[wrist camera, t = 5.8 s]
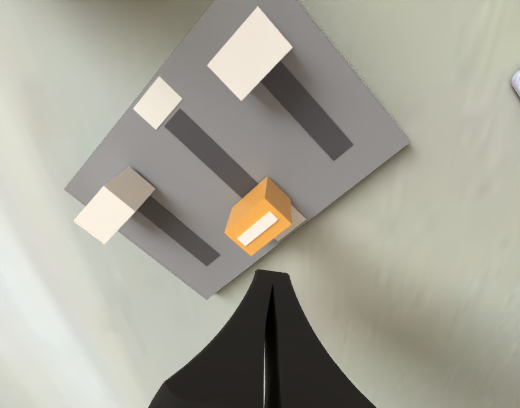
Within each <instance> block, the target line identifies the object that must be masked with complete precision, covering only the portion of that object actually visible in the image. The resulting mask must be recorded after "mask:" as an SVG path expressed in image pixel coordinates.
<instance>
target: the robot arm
mask: <svg viewBox="0 0 520 408" xmlns="http://www.w3.org/2000/svg"><path fill="white" fill-rule="evenodd" d="M512 86H513V88H514V89H515V91H516V92H517V94H518V95H519V97H520V70H519V71H518V72H517V73H516V74H515V75H514V76H513V78H512ZM264 344H265V404H264ZM148 408H376V407H375V406H374V405H373V404H372V403H371V402H370V401H369V400H368V399H367V398H366V397H365V396H364V395H363V394H362V393H361V392H360V391H359V390H358V389H357V388H356V387H355V386H354V385H353V384H352V383H351V381H350V380H349V379H348V378H347V377H346V376H345V374H344V373H343V372H342V371H341V369H340V368H339V367H338V366H337V364H336V363H335V362H334V361H333V359H332V358H331V357H330V355H329V354H328V353H327V351H326V350H325V348H324V347H323V345H322V344H321V342H320V341H319V339H318V338H317V336H316V334H315V333H314V331H313V329H312V327H311V326H310V324H309V322H308V320H307V318H306V316H305V314H304V312H303V310H302V308H301V306H300V304H299V302H298V299H297V297H296V294H295V292H294V289H293V286H292V284H291V280H290V276H289V275H288V274H287V273H282V272H274V271H267V270H260V269H258V270H256V271H255V275H254V278H253V281H252V283H251V285H250V287H249V289H248V291H247V293H246V295H245V297H244V298H243V300H242V302H241V303H240V305H239V306H238V308H237V309H236V311H235V312H234V314H233V315H232V317H231V318H230V319H229V321H228V322H227V323H226V325H225V326H224V327H223V328H222V329H221V331H220V332H219V333H218V334H217V335H216V336H215V337H214V339H213V340H212V341H211V342H210V343H209V344H208V345H207V346H206V347H205V348H204V349H203V350H202V351H201V352H200V353H199V354H198V355H196V356H195V357H194V358H193V359H192V360H191V361H190V362H189V363H188V364H186V365H185V366H184V367H183V368H182V369H180V370H179V371H178V372H176V373H175V374H174V375H173V376H171V377H170V378H169V379H167V380H166V381H165V382H164V383H163V384H162V386H161V387H160V389H159V390H158V392H157V393H156V395H155V397H154V398H153V400H152V402H151V403H150V405H149V407H148Z"/></svg>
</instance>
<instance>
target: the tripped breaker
mask: <svg viewBox="0 0 520 408" xmlns="http://www.w3.org/2000/svg"><path fill="white" fill-rule="evenodd" d="M291 224H292V216H291V199H290V198H289V197H288V196H287V195H286V194H285V193H284V192H283V191H282V190H281V189H280V188H279V187H278V186H277V185H276V184H275V183H274V182H273V181H272V180H271V179H270V178H269V177H268V176H267V177H266V178H265V179H264V180H263V181H261V182H260V183H259V184H258V185H257V186H256V187H255V188H254V189H252V190H251V191H250V192H249V193H248V194H247V195H246V196H245V197H243V198H242V199H241V200H240V201H239V202H238V203H237V204H236V205H234V206H233V207H232V210H231V213H230V216H229V219H228V222H227V226H226V229H225V232H224V233H225V234H226V235H227V236H228V237H229V238H230V239H232V240H233V241H234V242H235V243H236V244H237V245H238V246H240V247H241V248H242V249H243V250H244V251H245V252H247V253H248V254H249V255H250V256H252V255H253V254H255V253H256V252H257V251H258V250H260V249H261V248H262V247H263V246H265V245H266V244H267V243H268V242H270V241H271V240H272V239H274V238H275V237H276V236H277V235H279V234H280V233H281V232H282V231H284V230H285V229H286V228H288V227H289V226H290V225H291Z"/></svg>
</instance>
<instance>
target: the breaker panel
mask: <svg viewBox="0 0 520 408" xmlns="http://www.w3.org/2000/svg"><path fill="white" fill-rule="evenodd" d="M409 143H410V140H409V139H408V138H407V137H406V135H405V134H404V133H403V132H402V130H401V129H400V128H399V127H398V125H397V124H396V123H395V122H394V121H393V119H392V118H391V117H390V116H389V114H388V113H387V112H386V111H385V109H384V108H383V107H382V106H381V104H380V103H379V102H378V101H377V99H376V98H375V97H374V96H373V94H372V93H371V92H370V91H369V89H368V88H367V87H366V86H365V84H364V83H363V82H362V81H361V80H360V78H359V77H358V76H357V75H356V73H355V72H354V71H353V70H352V68H351V67H350V66H349V65H348V63H347V62H346V61H345V60H344V58H343V57H342V56H341V55H340V53H339V52H338V51H337V50H336V48H335V47H334V46H333V45H332V43H331V42H330V41H329V40H328V38H327V37H326V36H325V35H324V34H323V32H322V31H321V30H320V29H319V27H318V26H317V25H316V24H315V22H314V21H313V20H312V19H311V17H310V16H309V15H308V14H307V12H306V11H305V10H304V9H303V7H302V6H301V5H300V4H299V2H298V1H297V0H214V1H213V2H212V4H211V5H210V6H209V7H208V9H207V10H206V11H205V12H204V14H203V15H202V16H201V17H200V19H199V20H198V21H197V23H196V24H195V25H194V26H193V28H192V29H191V30H190V31H189V33H188V34H187V35H186V36H185V38H184V39H183V40H182V41H181V43H180V44H179V45H178V46H177V48H176V49H175V50H174V51H173V53H172V54H171V55H170V56H169V58H168V59H167V60H166V62H165V63H164V64H163V65H162V67H161V68H160V69H159V70H158V72H157V73H156V74H155V75H154V77H153V78H152V79H151V80H150V82H149V83H148V84H147V85H146V87H145V88H144V89H143V90H142V92H141V93H140V94H139V95H138V97H137V98H136V99H135V100H134V102H133V103H132V104H131V106H130V107H129V108H128V109H127V111H126V112H125V113H124V114H123V116H122V117H121V118H120V119H119V121H118V122H117V123H116V124H115V126H114V127H113V128H112V129H111V131H110V132H109V133H108V134H107V136H106V137H105V138H104V139H103V141H102V142H101V143H100V145H99V146H98V147H97V148H96V150H95V151H94V152H93V153H92V155H91V156H90V157H89V158H88V160H87V161H86V162H85V163H84V165H83V166H82V167H81V168H80V170H79V171H78V172H77V173H76V175H75V176H74V177H73V178H72V180H71V181H70V182H69V184H68V185H67V186H66V187H65V189H64V190H65V191H67V192H68V193H69V194H71V195H72V196H73V197H75V198H76V199H77V200H78V201H80V202H81V203H82V204H84V205H85V206H86V207H85V208H84V209H83V210H82V211H81V213H80V214H79V215H78V216H77V217H76V218H75V220H74V222H75V223H77V224H78V225H79V226H81V227H82V228H83V229H85V230H86V231H87V232H89V233H90V234H91V235H93V236H94V237H95V238H97V239H98V240H99V241H101V242H102V243H103V244H105V243H106V242H107V241H108V240H109V239H110V238H111V237H112V236H113V235H114V234H115V233H116V231H118V232H120V233H121V234H122V235H124V236H125V237H126V238H127V239H129V240H130V241H131V242H133V243H134V244H135V245H137V246H138V247H139V248H140V249H142V250H143V251H144V252H146V253H147V254H148V255H149V256H151V257H152V258H153V259H155V260H156V261H157V262H158V263H160V264H161V265H162V266H164V267H165V268H166V269H168V270H169V271H170V272H171V273H173V274H174V275H175V276H177V277H178V278H179V279H180V280H182V281H183V282H184V283H186V284H187V285H188V286H189V287H191V288H192V289H193V290H195V291H196V292H197V293H199V294H200V295H201V296H202V297H204V298H205V299H206V300H207V299H208V298H210V297H211V296H212V295H214V294H215V293H216V292H217V291H219V290H220V289H221V288H223V287H224V286H225V285H226V284H228V283H229V282H230V281H232V280H233V279H234V278H235V277H237V276H238V275H239V274H241V273H242V272H243V271H245V270H246V269H247V268H248V267H250V266H251V265H252V264H254V263H255V262H256V261H257V260H259V259H260V258H261V257H263V256H264V255H265V254H266V253H268V252H269V251H270V250H272V249H273V248H274V247H276V246H277V245H278V244H279V243H281V242H282V241H283V240H285V239H286V238H287V237H288V236H290V235H291V234H292V233H294V232H295V231H296V230H297V229H299V228H300V227H301V226H303V225H304V224H305V223H307V222H308V221H309V220H310V219H312V218H313V217H314V216H316V215H317V214H318V213H319V212H321V211H322V210H323V209H325V208H326V207H327V206H329V205H330V204H331V203H332V202H334V201H335V200H336V199H338V198H339V197H340V196H341V195H343V194H344V193H345V192H347V191H348V190H349V189H350V188H352V187H353V186H354V185H356V184H357V183H358V182H360V181H361V180H362V179H363V178H365V177H366V176H367V175H369V174H370V173H371V172H372V171H374V170H375V169H376V168H378V167H379V166H380V165H381V164H383V163H384V162H385V161H387V160H388V159H389V158H391V157H392V156H393V155H394V154H396V153H397V152H398V151H400V150H401V149H402V148H403V147H405V146H406V145H407V144H409ZM267 176H268V177H269V178H270V179H271V180H272V181H273V182H274V183H275V184H276V185H277V186H278V187H279V188H280V189H281V190H282V191H283V192H284V193H285V194H286V195H287V196H288V197H289V198H290V199H291V216H292V224H291V225H290V226H289V227H288V228H286V229H285V230H284V231H282V232H281V233H280V234H279V235H277V236H276V237H275V238H274V239H272V240H271V241H270V242H268V243H267V244H266V245H265V246H263V247H262V248H261V249H260V250H258V251H257V252H256V253H255V254H253V255H252V256H250V255H249V254H248V253H247V252H245V251H244V250H243V249H242V248H241V247H240V246H238V245H237V244H236V243H235V242H234V241H233V240H232V239H230V238H229V237H228V236H227V235H226V234H225V233H224V232H225V229H226V226H227V222H228V219H229V216H230V213H231V210H232V207H233V206H234V205H236V204H237V203H238V202H239V201H240V200H241V199H242V198H243V197H245V196H246V195H247V194H248V193H249V192H250V191H251V190H252V189H254V188H255V187H256V186H257V185H258V184H259V183H260V182H261V181H263V180H264V179H265V178H266V177H267Z"/></svg>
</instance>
